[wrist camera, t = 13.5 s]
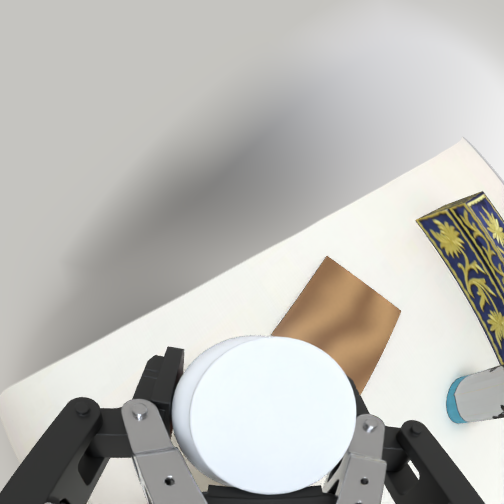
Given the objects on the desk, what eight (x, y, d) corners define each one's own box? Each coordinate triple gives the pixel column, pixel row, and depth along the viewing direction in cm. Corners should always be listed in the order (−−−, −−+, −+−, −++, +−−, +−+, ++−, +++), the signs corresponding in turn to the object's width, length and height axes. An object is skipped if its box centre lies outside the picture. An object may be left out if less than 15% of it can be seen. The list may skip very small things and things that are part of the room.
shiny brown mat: (270, 334, 30) (271, 334, 29) (325, 257, 35) (326, 255, 35) (358, 395, 27) (360, 395, 27) (399, 311, 33) (401, 310, 33)
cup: (464, 430, 26) (552, 416, 13) (439, 411, 27) (534, 392, 14) (480, 389, 29) (561, 364, 16) (457, 368, 30) (543, 335, 17)
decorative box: (502, 370, 30) (543, 355, 23) (415, 220, 41) (447, 185, 33) (521, 334, 34) (556, 316, 26) (443, 203, 45) (471, 172, 37)
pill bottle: (163, 418, 15) (110, 433, 6) (221, 344, 18) (245, 267, 9) (247, 472, 14) (306, 544, 5) (300, 396, 17) (407, 374, 8)
